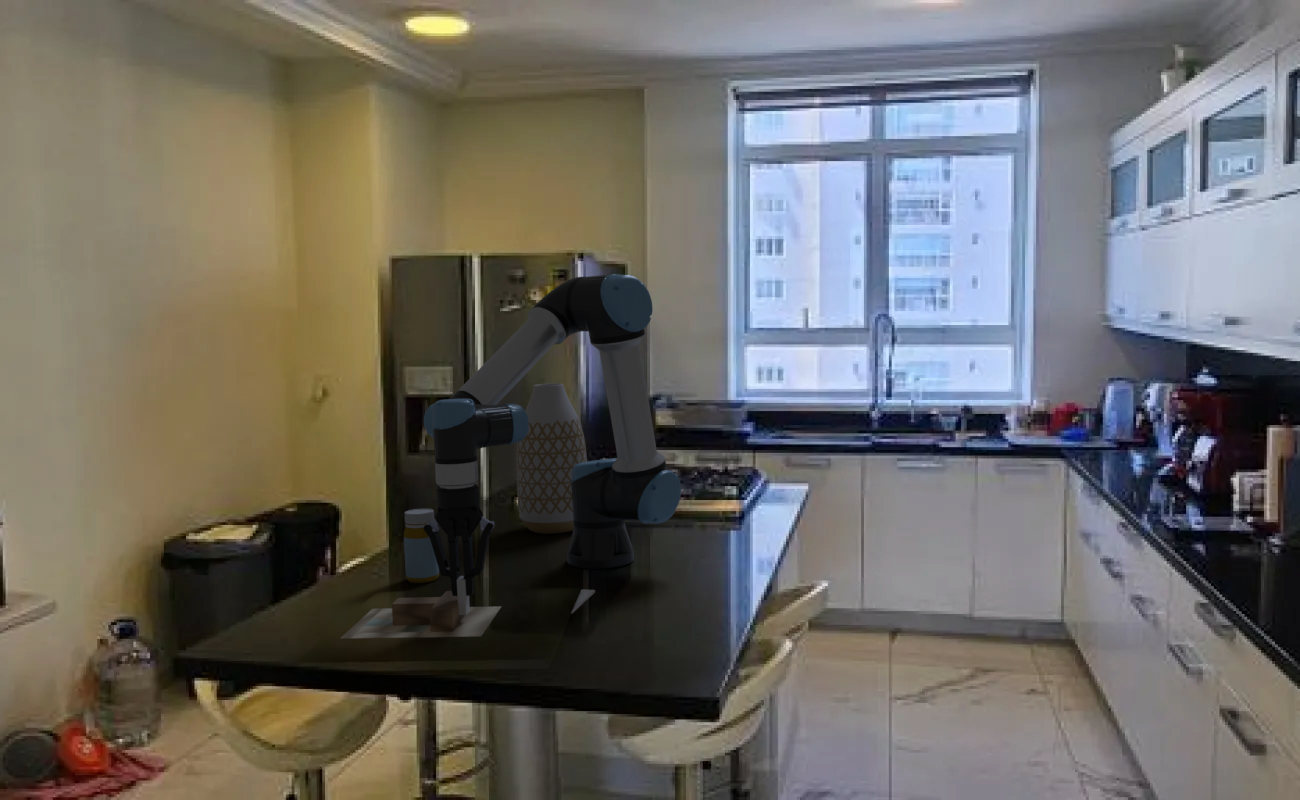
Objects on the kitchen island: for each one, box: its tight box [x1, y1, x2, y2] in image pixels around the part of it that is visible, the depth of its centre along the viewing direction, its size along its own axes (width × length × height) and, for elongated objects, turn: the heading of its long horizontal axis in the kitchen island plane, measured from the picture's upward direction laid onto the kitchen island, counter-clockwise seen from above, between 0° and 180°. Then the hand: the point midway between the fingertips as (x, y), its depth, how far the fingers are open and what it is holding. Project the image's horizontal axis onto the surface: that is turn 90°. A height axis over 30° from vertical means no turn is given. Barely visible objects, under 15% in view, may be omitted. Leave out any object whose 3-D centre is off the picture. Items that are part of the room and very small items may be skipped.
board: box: [340, 605, 502, 640], centre depth 191 cm, size 25×18×1 cm
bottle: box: [403, 508, 440, 584], centre depth 225 cm, size 7×7×15 cm
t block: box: [391, 590, 465, 632], centre depth 191 cm, size 12×12×4 cm
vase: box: [516, 383, 588, 535], centre depth 272 cm, size 19×18×38 cm
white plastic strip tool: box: [570, 588, 596, 615], centre depth 205 cm, size 5×15×1 cm, turn 165°
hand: (464, 612), depth 190 cm, fingers closed
